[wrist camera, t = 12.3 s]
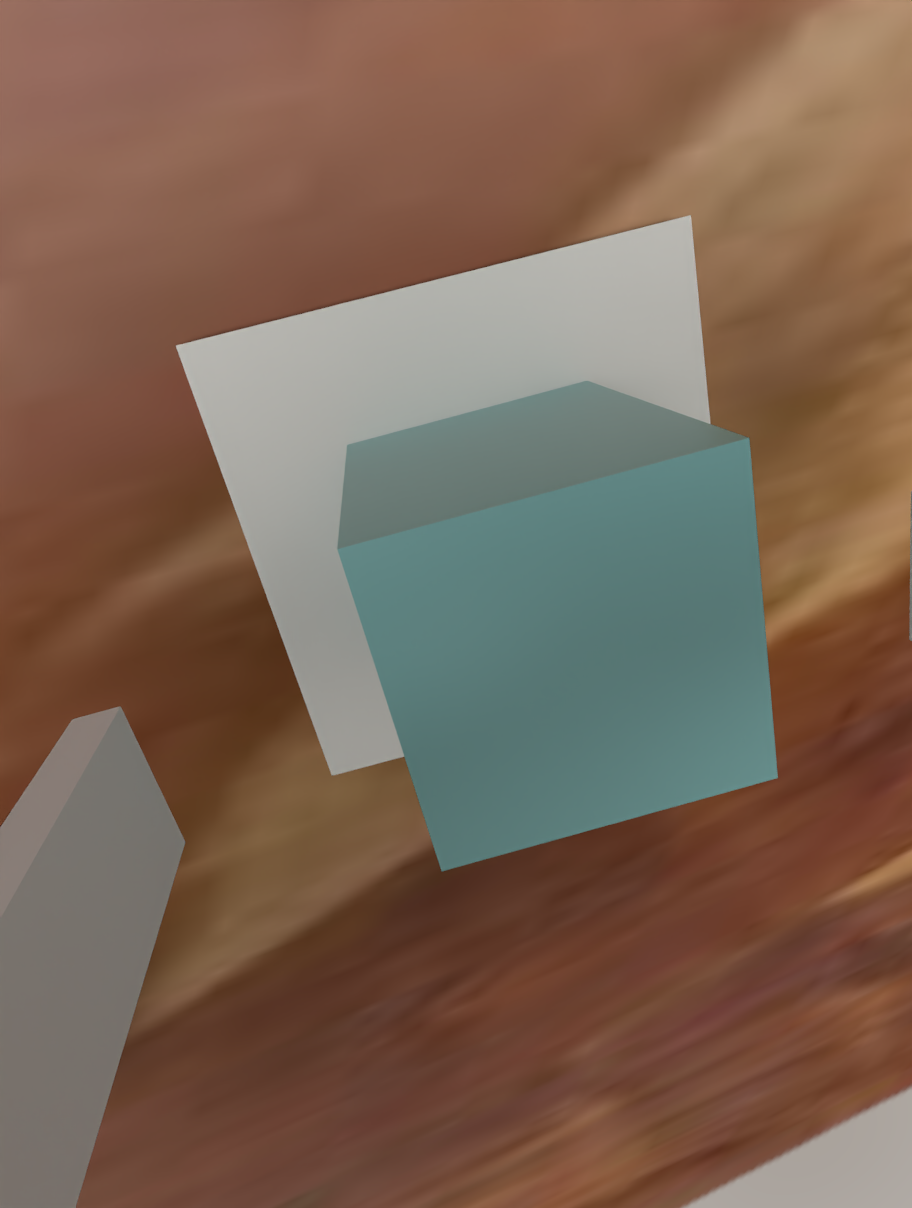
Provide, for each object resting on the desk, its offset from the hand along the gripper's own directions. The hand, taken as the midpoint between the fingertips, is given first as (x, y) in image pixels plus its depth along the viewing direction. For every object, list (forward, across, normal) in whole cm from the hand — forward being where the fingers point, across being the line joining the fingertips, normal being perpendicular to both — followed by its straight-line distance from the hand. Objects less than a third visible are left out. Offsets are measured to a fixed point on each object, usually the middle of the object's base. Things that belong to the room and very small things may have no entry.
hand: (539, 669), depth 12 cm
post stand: (+9, +1, 0) cm, 9 cm away
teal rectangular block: (+8, +1, 0) cm, 8 cm away
